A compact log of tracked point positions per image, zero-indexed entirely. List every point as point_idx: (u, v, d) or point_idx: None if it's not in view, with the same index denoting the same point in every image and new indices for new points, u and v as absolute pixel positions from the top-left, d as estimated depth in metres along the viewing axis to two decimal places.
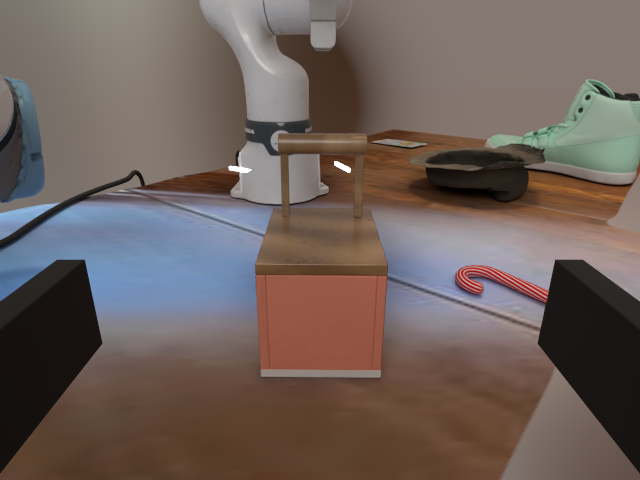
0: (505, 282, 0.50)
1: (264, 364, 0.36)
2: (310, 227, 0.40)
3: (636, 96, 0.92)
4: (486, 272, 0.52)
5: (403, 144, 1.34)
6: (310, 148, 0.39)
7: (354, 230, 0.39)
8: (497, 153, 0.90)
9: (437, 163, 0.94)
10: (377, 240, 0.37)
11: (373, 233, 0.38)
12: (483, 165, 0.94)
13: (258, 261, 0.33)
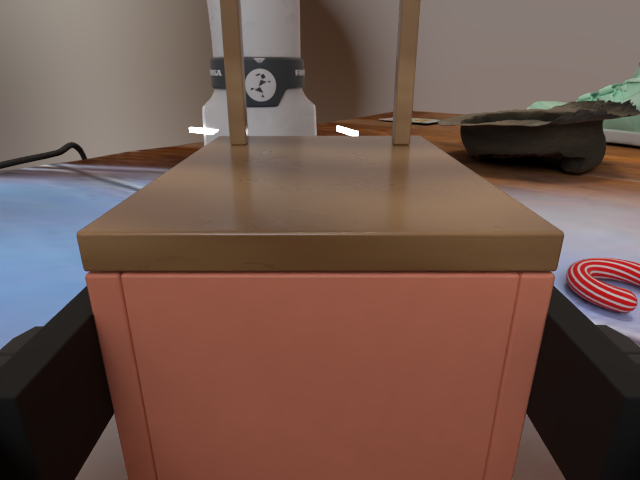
0: None
1: None
2: (291, 158, 0.16)
3: None
4: (622, 270, 0.28)
5: (417, 120, 1.11)
6: None
7: (402, 161, 0.15)
8: (555, 113, 0.67)
9: None
10: (475, 177, 0.13)
11: (453, 165, 0.15)
12: None
13: (94, 225, 0.09)
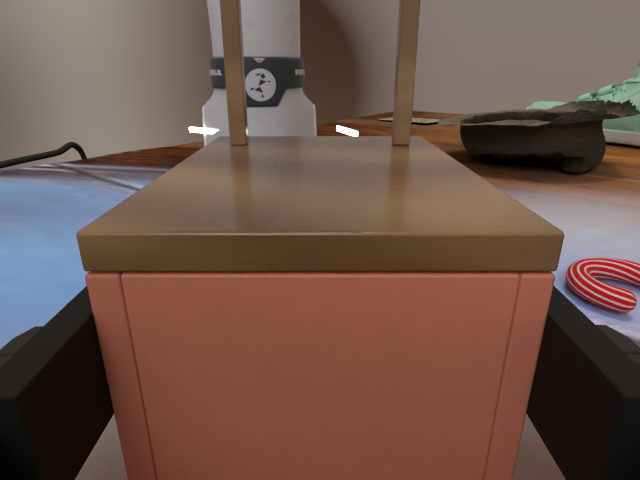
0: None
1: None
2: (291, 159, 0.16)
3: None
4: (622, 270, 0.28)
5: (417, 120, 1.11)
6: None
7: (402, 162, 0.15)
8: (555, 113, 0.67)
9: None
10: (475, 177, 0.13)
11: (453, 165, 0.15)
12: None
13: (94, 225, 0.09)
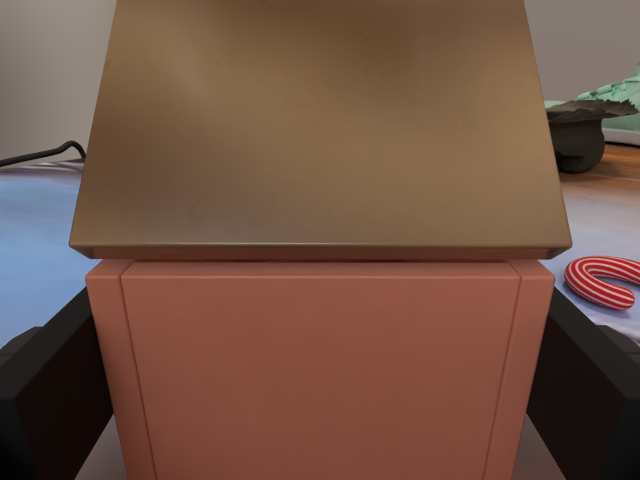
0: None
1: None
2: None
3: None
4: (620, 268, 0.28)
5: None
6: None
7: None
8: (554, 112, 0.67)
9: None
10: (524, 49, 0.10)
11: None
12: None
13: (81, 226, 0.09)
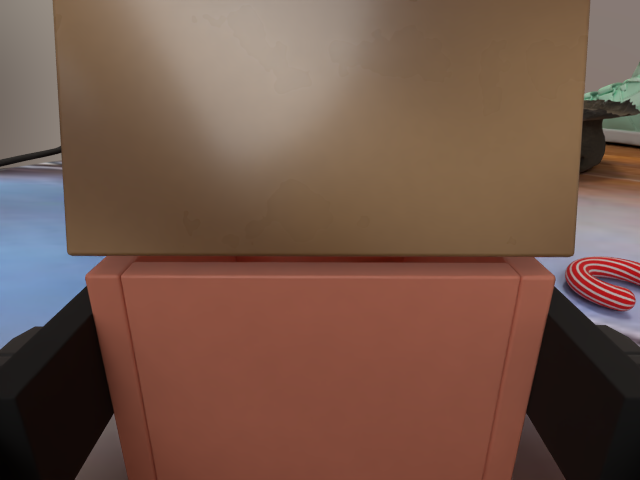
0: None
1: None
2: None
3: None
4: (621, 269, 0.28)
5: None
6: None
7: None
8: None
9: None
10: None
11: None
12: None
13: (75, 234, 0.08)
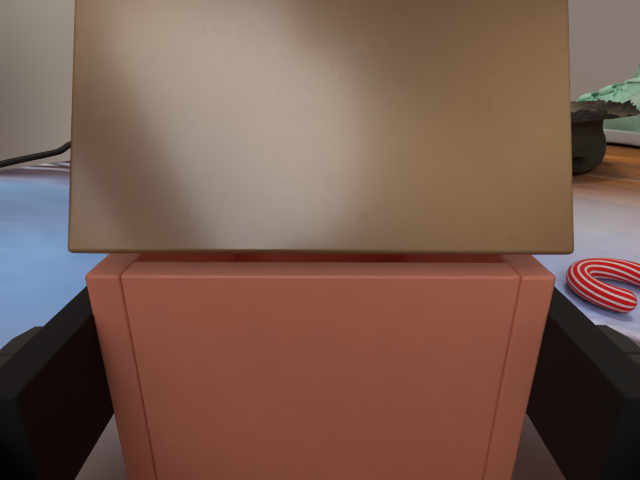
0: None
1: None
2: None
3: None
4: (622, 270, 0.28)
5: None
6: None
7: None
8: None
9: None
10: (557, 13, 0.09)
11: None
12: None
13: (77, 231, 0.08)
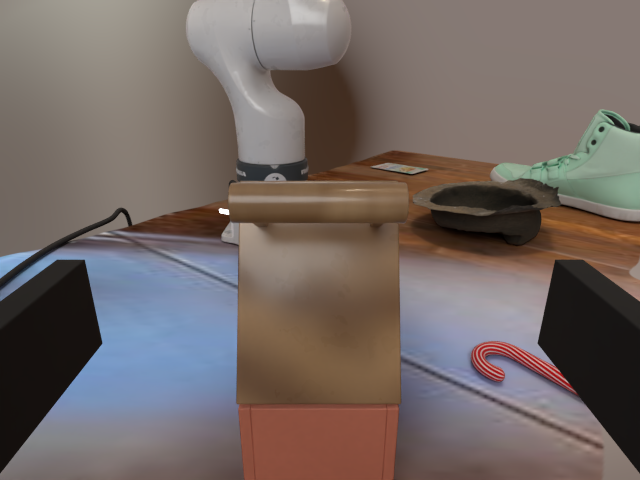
0: (528, 365, 0.44)
1: None
2: (301, 275, 0.27)
3: None
4: (506, 351, 0.46)
5: (404, 170, 1.28)
6: None
7: (366, 284, 0.27)
8: (506, 189, 0.85)
9: (442, 199, 0.88)
10: (396, 323, 0.27)
11: (392, 295, 0.27)
12: (491, 201, 0.88)
13: (239, 397, 0.26)
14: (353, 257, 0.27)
